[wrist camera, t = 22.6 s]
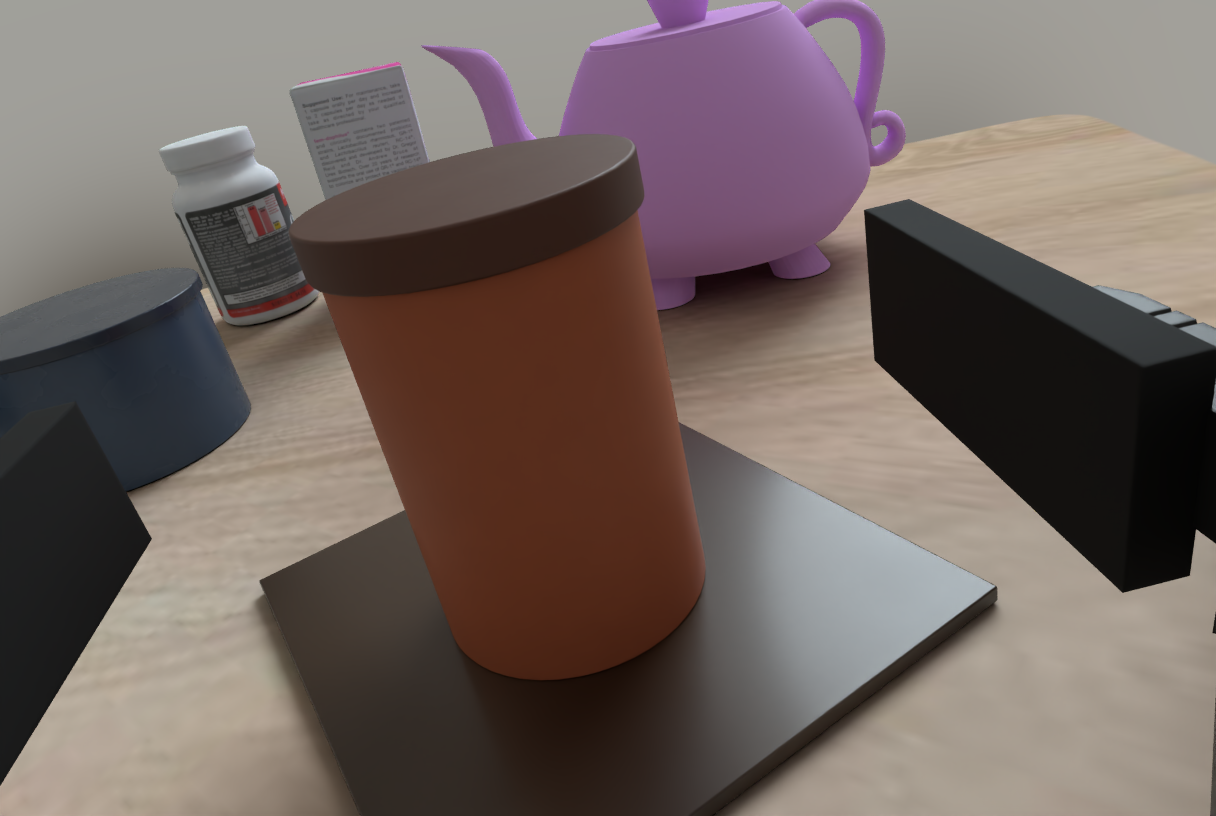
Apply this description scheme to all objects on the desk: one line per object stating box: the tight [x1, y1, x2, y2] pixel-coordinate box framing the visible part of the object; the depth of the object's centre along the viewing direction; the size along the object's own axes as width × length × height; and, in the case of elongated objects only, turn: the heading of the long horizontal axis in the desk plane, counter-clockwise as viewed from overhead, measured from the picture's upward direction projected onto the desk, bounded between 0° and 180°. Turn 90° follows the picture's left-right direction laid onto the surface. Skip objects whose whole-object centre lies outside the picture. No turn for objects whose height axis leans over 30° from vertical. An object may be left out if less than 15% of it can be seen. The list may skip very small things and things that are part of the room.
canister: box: [289, 134, 706, 680], centre depth 19 cm, size 7×7×10 cm
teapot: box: [422, 0, 906, 310], centre depth 38 cm, size 20×14×12 cm
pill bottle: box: [159, 126, 319, 325], centre depth 48 cm, size 6×6×10 cm
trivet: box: [260, 422, 997, 816], centre depth 21 cm, size 13×14×1 cm
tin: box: [0, 268, 251, 491], centre depth 34 cm, size 9×9×6 cm
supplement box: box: [290, 62, 430, 200], centre depth 46 cm, size 6×6×12 cm
